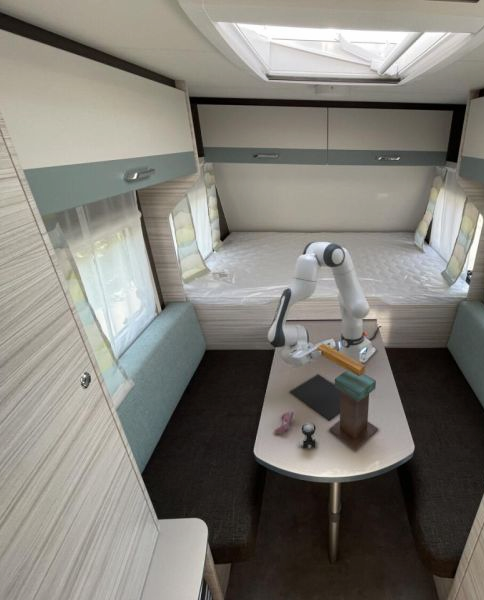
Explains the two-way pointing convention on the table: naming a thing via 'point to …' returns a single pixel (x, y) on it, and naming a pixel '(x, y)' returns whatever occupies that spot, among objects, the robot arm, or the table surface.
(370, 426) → the stand
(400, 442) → the table surface
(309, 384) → the mat
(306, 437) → the black silver upright piece
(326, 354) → the ochre bar
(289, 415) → the pink irregular piece
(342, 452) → the table surface
